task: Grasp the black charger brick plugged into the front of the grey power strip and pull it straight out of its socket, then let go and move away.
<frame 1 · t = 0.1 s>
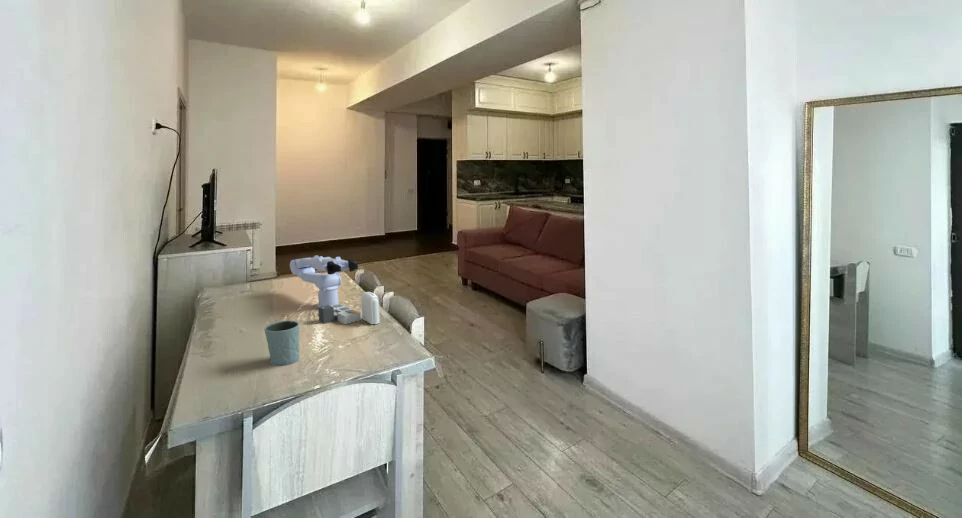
hand: (348, 267, 183), 22 cm above the table, tool horizontal, fingers open, 7 cm apart
charger: (329, 313, 182), point 3 cm above the table, slide at 0.0 cm
power strip: (342, 317, 187), on the table
photo printer: (371, 321, 182), on the table
grey-green cup: (284, 361, 143), on the table
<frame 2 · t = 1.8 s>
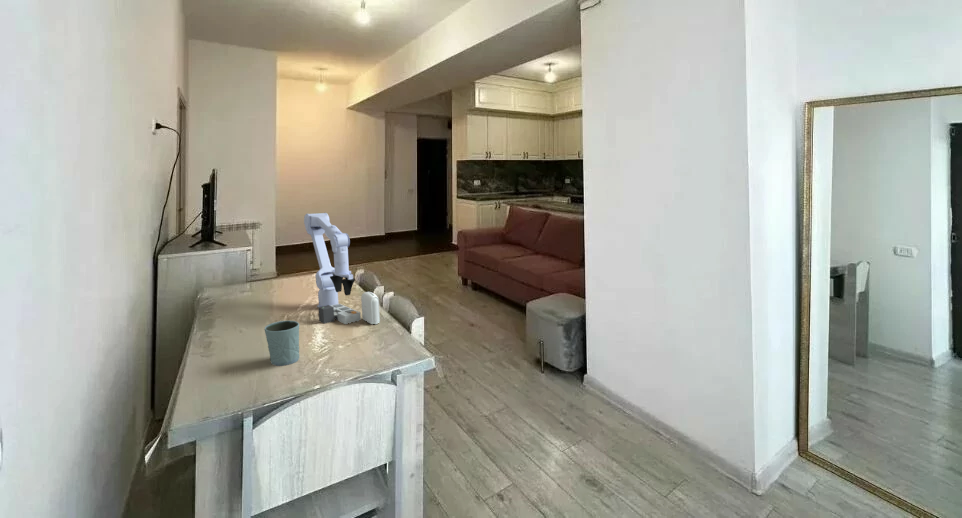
hand: (343, 293, 188), 10 cm above the table, tool pointing down, fingers open, 7 cm apart
nothing on the table moved.
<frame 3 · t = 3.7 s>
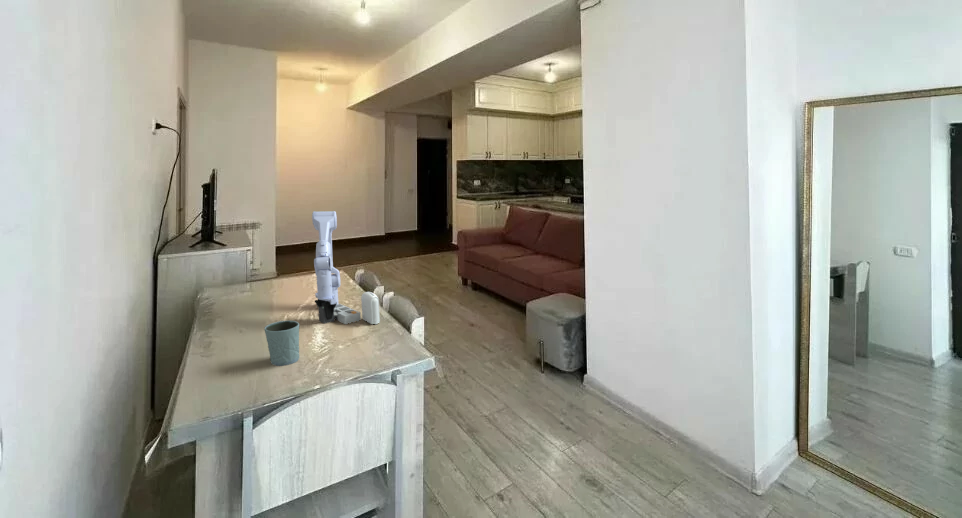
hand: (326, 317, 181), 2 cm above the table, tool pointing down, fingers closed on charger, 4 cm apart
charger: (329, 313, 182), point 3 cm above the table, slide at 0.0 cm, touching gripper
everything else where it was.
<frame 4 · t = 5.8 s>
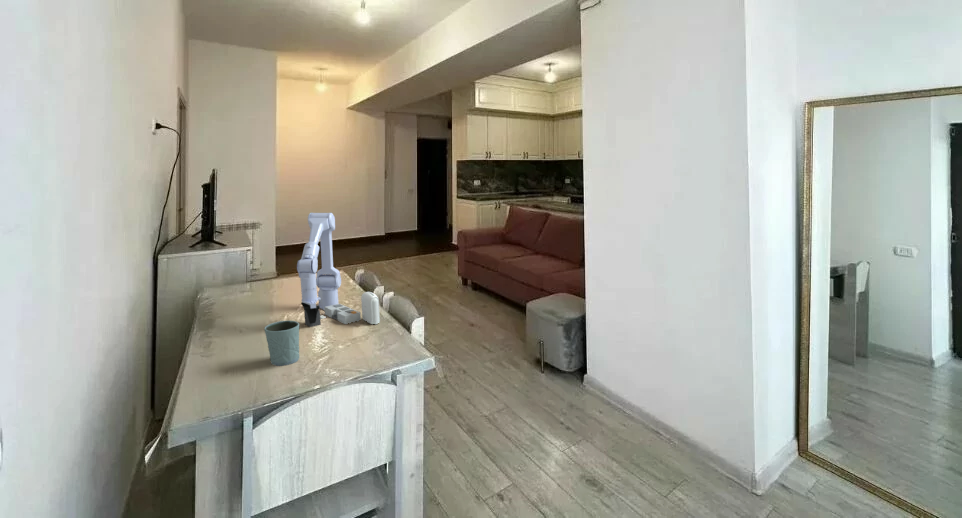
hand: (311, 320, 177), 2 cm above the table, tool pointing down, fingers closed on charger, 5 cm apart
charger: (315, 316, 178), point 3 cm above the table, slide at 5.9 cm, touching gripper
everything else where it was.
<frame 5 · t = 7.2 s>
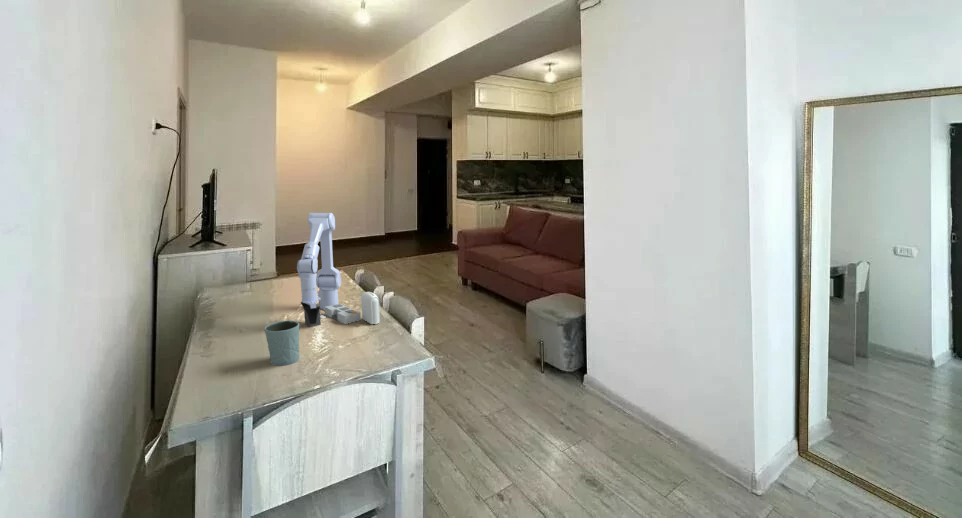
hand: (311, 321, 177), 2 cm above the table, tool pointing down, fingers open, 7 cm apart
charger: (315, 316, 178), point 3 cm above the table, slide at 5.9 cm
everything else where it was.
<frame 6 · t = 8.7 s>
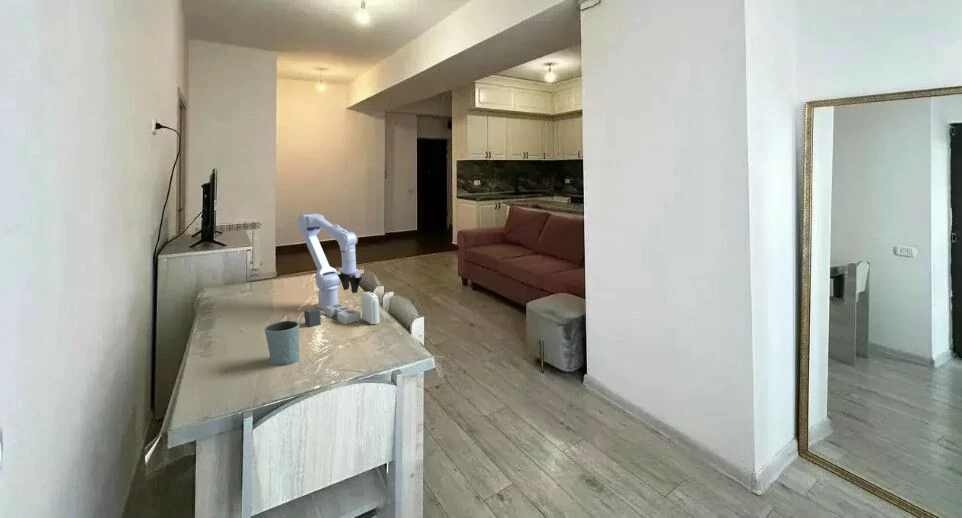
hand: (350, 291, 191), 10 cm above the table, tool pointing down, fingers open, 7 cm apart
nothing on the table moved.
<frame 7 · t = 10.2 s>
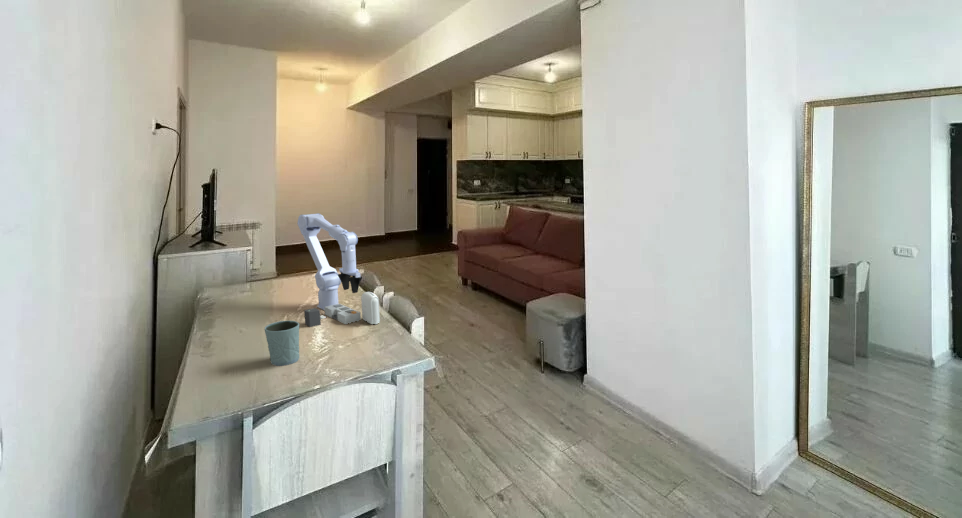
hand: (350, 291, 191), 10 cm above the table, tool pointing down, fingers open, 7 cm apart
nothing on the table moved.
at the end: charger slide at 5.9 cm; the gripper is holding nothing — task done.
